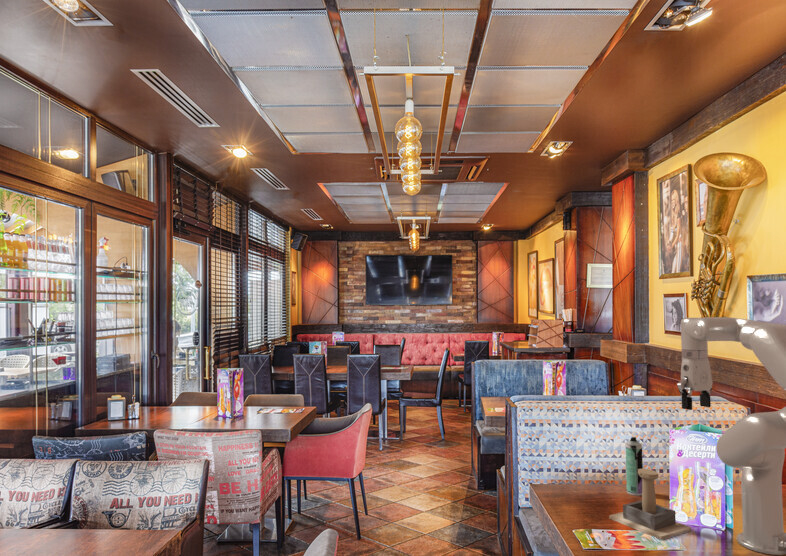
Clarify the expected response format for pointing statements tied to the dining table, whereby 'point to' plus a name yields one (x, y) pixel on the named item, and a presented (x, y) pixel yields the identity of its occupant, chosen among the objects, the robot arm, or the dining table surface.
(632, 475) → the spray can
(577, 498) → the dining table surface
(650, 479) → the handle
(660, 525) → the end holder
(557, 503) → the dining table surface
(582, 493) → the dining table surface
